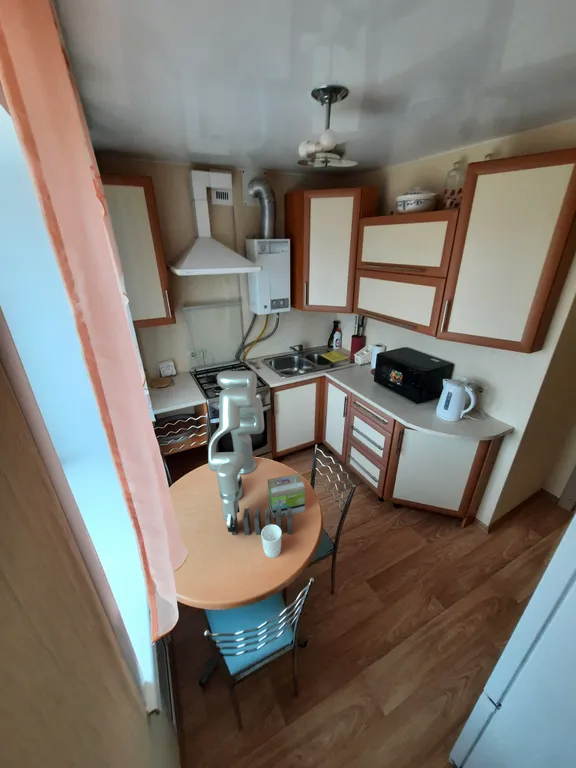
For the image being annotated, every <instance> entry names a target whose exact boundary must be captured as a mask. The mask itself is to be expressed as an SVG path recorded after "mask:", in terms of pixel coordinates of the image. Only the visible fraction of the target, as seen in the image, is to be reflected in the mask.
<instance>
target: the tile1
mask: <svg viewBox="0 0 576 768" xmlns="http://www.w3.org/2000/svg"><path fill="white" fill-rule="evenodd" d="M243 510H244V511H243V514H242V515H243V516H242V520H243V521H242V522H243V529H244V536H250V533H251V526H252V525H251V524H252V523H251V515H250V509H249V508H246V507H245V508H244V509H243Z"/></svg>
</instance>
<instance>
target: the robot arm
mask: <svg viewBox="0 0 576 768" xmlns="http://www.w3.org/2000/svg"><path fill="white" fill-rule="evenodd" d="M216 381H217V384H218V386H219V387H220V388H221V389H222V390H221V391H220V392H219V397H218V398H219V403H218V405H219V410H218V411H219V417H218V419H219V425H218V428H217V429H216V431H215V432H214V433H213V434H212V436H211V438H210V441H209V443H208V448H207V451H208V453H207V454H208V455H207V457H208V458H207V462H208V467H209V470H210V471H212V472H216V477H217V483H218V489H219V495H220V498H221V499H220V500H222V513H223V515H222V516H223V520H224V521H226V527H227V531H228V532H227V533H232V532H236V526H235V524H234V520H235V519H236V516H237V517H238V513H240V505H239V503H240V501H239V500H240V499H239V497H238V496H239V494H240V493H239V485H238V478H237V476H238V474H240V475H247V474H251V473H252V472H254V471H255V470H256V468H257V461H256V460H255V459H254V456H253V455H254V454H253V446H252V445H253V443H252V438H251V435H259V434H260V435H261V434H262V433H263V432H264V430H265V420H264V419H265V418H264V406H263V402H262V400H261V398H260V397H258V396H256V394H257V383H258V378H257V374H256V372H254V371H253V370H229V371H228V370H227V371H220V372H219V373H217V375H216ZM228 433H230V434H231V438H232V447H233V451H229V452H228V451H225V452H223V451H222V452H217V445H218V442H219V441H220V439H221V438H222V437H223V436H224V435H226V434H228ZM231 516H232V518H231ZM231 520H233V523H231Z"/></svg>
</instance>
